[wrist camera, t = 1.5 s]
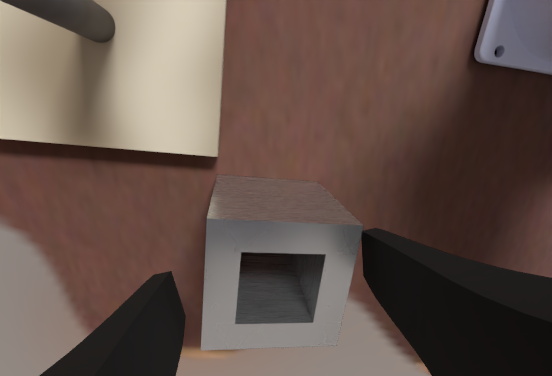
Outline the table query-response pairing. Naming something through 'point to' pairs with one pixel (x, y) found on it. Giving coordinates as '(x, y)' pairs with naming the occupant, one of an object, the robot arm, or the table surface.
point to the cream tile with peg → (113, 73)
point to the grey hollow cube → (276, 264)
